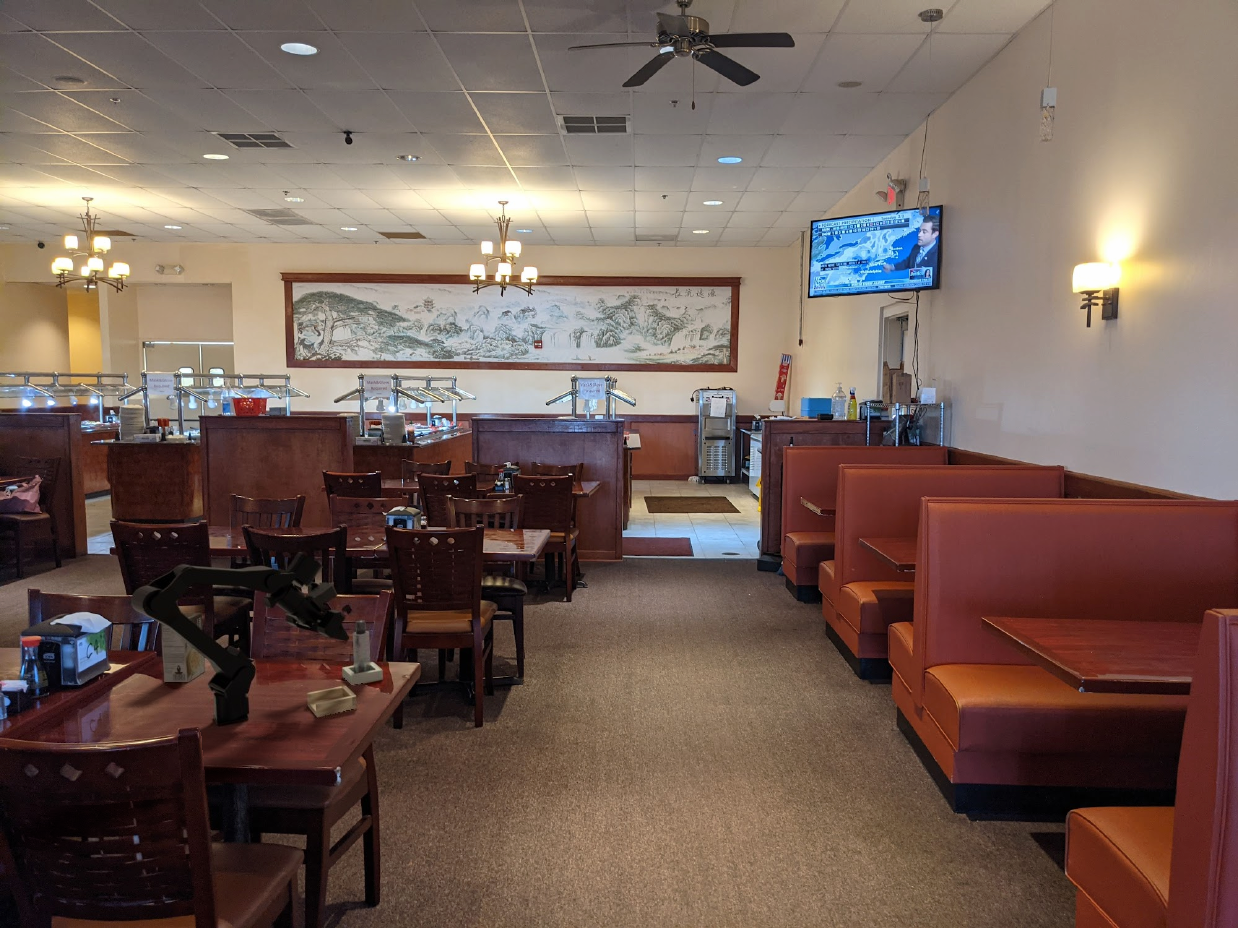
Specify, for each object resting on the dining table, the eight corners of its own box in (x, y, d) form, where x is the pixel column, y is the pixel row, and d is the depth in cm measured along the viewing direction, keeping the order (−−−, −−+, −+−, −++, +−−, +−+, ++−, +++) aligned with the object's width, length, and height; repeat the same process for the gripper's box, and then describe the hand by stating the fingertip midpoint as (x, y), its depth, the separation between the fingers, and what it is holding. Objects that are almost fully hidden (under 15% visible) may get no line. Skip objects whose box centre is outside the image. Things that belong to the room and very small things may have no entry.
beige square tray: (317, 717, 193) (316, 704, 193) (307, 705, 201) (307, 692, 201) (356, 708, 198) (356, 696, 198) (346, 697, 206) (345, 685, 206)
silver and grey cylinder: (357, 681, 217) (355, 624, 215) (352, 677, 220) (350, 620, 219) (372, 678, 219) (370, 621, 218) (367, 674, 222) (365, 618, 221)
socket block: (351, 685, 214) (351, 675, 214) (342, 676, 221) (342, 667, 220) (382, 679, 218) (382, 669, 218) (373, 670, 225) (372, 661, 225)
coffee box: (182, 671, 227) (179, 612, 225) (206, 671, 226) (202, 612, 225) (163, 683, 217) (159, 621, 216) (188, 683, 217) (184, 621, 216)
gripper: (336, 579, 202) (378, 615, 211) (295, 569, 213) (336, 603, 223) (307, 619, 196) (351, 653, 206) (266, 606, 208) (310, 640, 218)
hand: (337, 636), depth 213 cm, fingers open, 9 cm apart
